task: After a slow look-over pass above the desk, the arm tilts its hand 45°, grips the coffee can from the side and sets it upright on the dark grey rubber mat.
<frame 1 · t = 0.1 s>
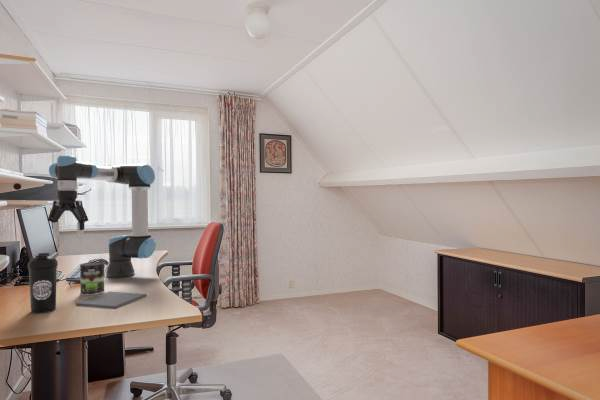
hand: (68, 237, 175), 28 cm above the table, tool pointing down, fingers open, 13 cm apart
rubber mat: (112, 300, 172), on the table
water bottle: (43, 310, 158), on the table
coffee can: (92, 293, 186), on the table
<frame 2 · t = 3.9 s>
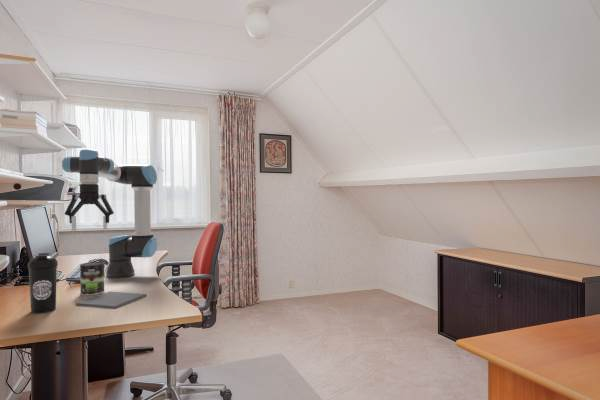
hand: (89, 230, 176), 31 cm above the table, tool pointing down, fingers open, 13 cm apart
nothing on the table moved.
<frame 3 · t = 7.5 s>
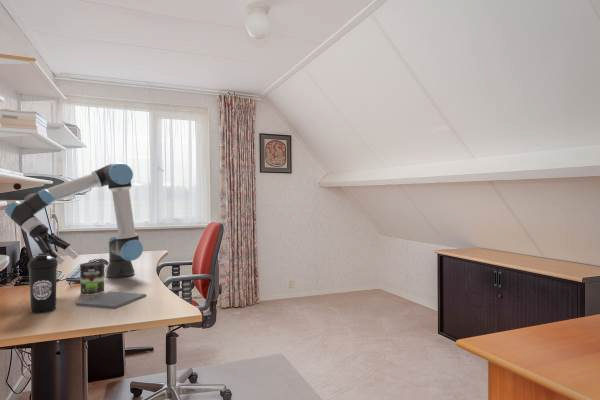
hand: (69, 259, 185), 16 cm above the table, tool tilted 45°, fingers open, 13 cm apart
nothing on the table moved.
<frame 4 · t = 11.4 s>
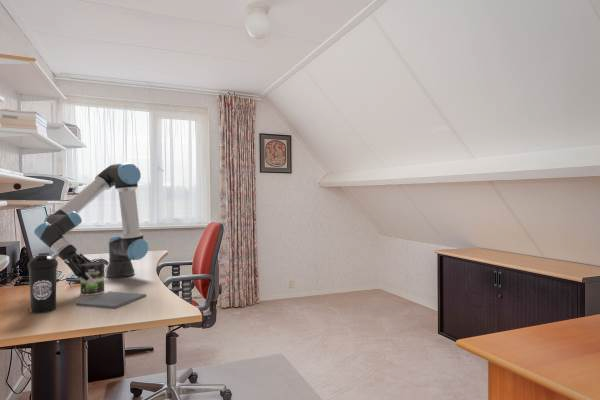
hand: (99, 281, 186), 5 cm above the table, tool tilted 45°, fingers closed on coffee can, 10 cm apart
coffee can: (92, 293, 186), on the table, touching gripper
everything else where it was.
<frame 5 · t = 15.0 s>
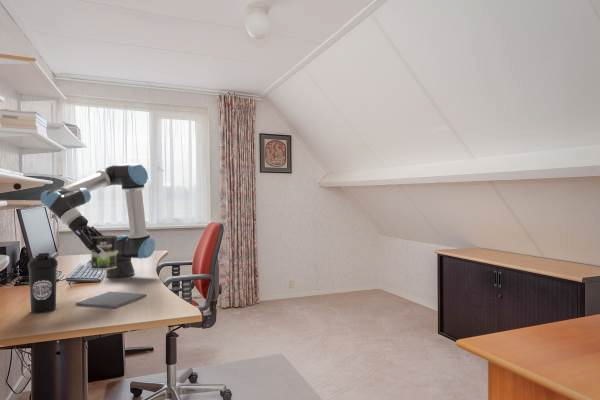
hand: (111, 255, 173), 20 cm above the table, tool tilted 45°, fingers closed on coffee can, 10 cm apart
coffee can: (104, 268, 173), point 14 cm above the table, touching gripper
everything else where it was.
when the fingers open (7 cm above the table, at t = 18.9 s): coffee can stays where it is, resting on rubber mat.
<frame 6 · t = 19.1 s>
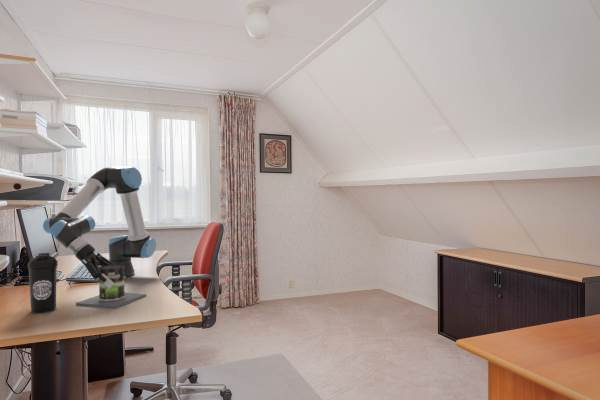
hand: (117, 282, 172), 8 cm above the table, tool tilted 45°, fingers open, 12 cm apart
coffee can: (112, 298, 172), point 1 cm above the table, touching rubber mat
everything else where it was.
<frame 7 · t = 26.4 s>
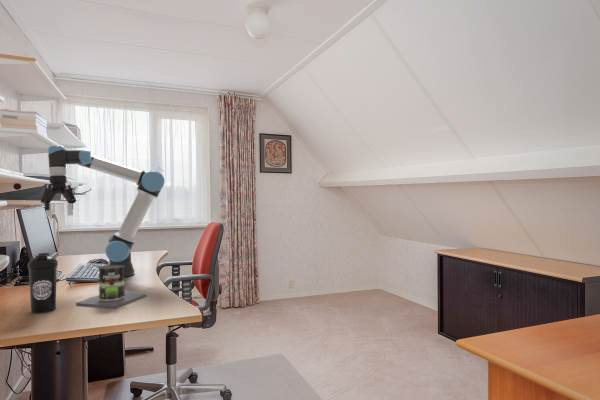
hand: (60, 216, 203), 36 cm above the table, tool pointing down, fingers open, 13 cm apart
nothing on the table moved.
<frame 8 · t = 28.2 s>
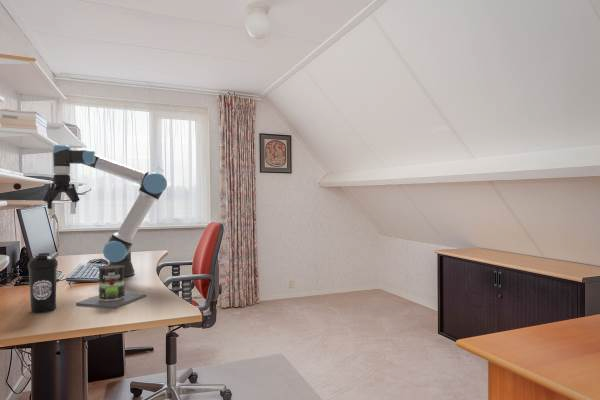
hand: (62, 214, 206), 37 cm above the table, tool pointing down, fingers open, 13 cm apart
nothing on the table moved.
at the end: coffee can inside the target area on the rubber mat (0.3 cm from its centre), point 0.8 cm above the rubber mat's base; coffee can tilted 0°; the gripper is holding nothing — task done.
